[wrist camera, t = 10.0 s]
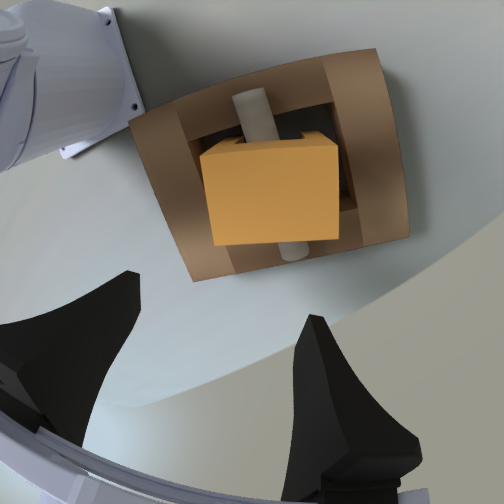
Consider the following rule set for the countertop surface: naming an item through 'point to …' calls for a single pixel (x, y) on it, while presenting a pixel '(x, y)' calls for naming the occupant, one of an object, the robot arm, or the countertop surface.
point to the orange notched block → (272, 190)
